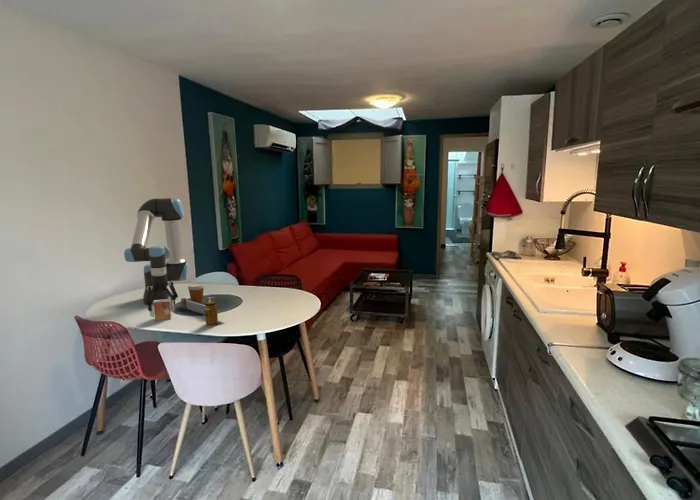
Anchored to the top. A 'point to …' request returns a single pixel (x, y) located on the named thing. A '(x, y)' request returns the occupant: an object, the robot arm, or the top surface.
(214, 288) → the top surface
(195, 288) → the disposable coffee cup
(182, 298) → the brown upright pieces
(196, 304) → the door
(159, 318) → the small box
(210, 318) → the condiment
